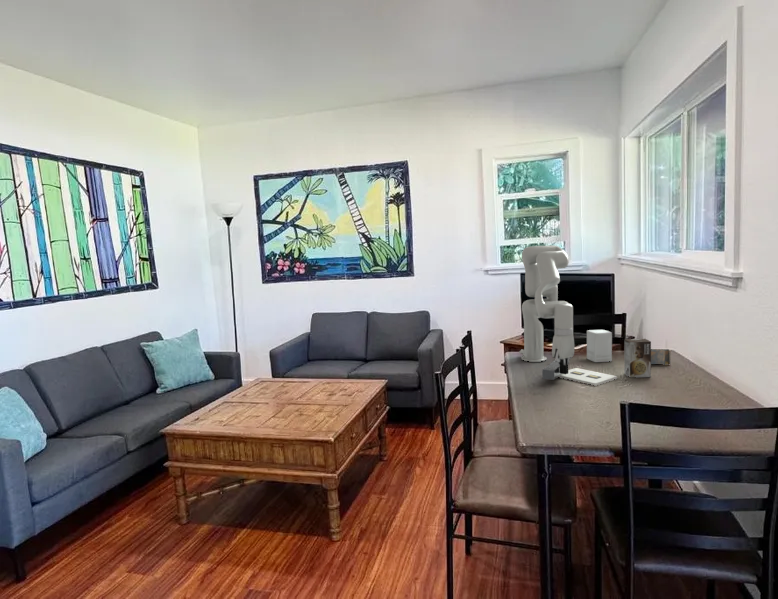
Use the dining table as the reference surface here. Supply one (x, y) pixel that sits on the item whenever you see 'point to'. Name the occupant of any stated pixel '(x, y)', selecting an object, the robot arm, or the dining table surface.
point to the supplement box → (599, 345)
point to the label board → (587, 376)
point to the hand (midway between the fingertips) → (563, 373)
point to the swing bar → (551, 371)
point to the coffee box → (637, 358)
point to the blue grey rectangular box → (660, 356)
